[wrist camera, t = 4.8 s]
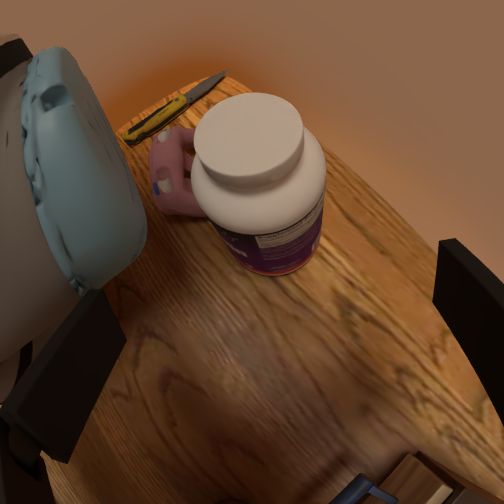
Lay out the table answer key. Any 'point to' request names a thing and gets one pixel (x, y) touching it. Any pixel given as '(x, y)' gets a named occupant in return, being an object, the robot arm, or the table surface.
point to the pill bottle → (260, 181)
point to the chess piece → (230, 502)
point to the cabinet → (458, 485)
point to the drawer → (398, 487)
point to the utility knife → (168, 111)
